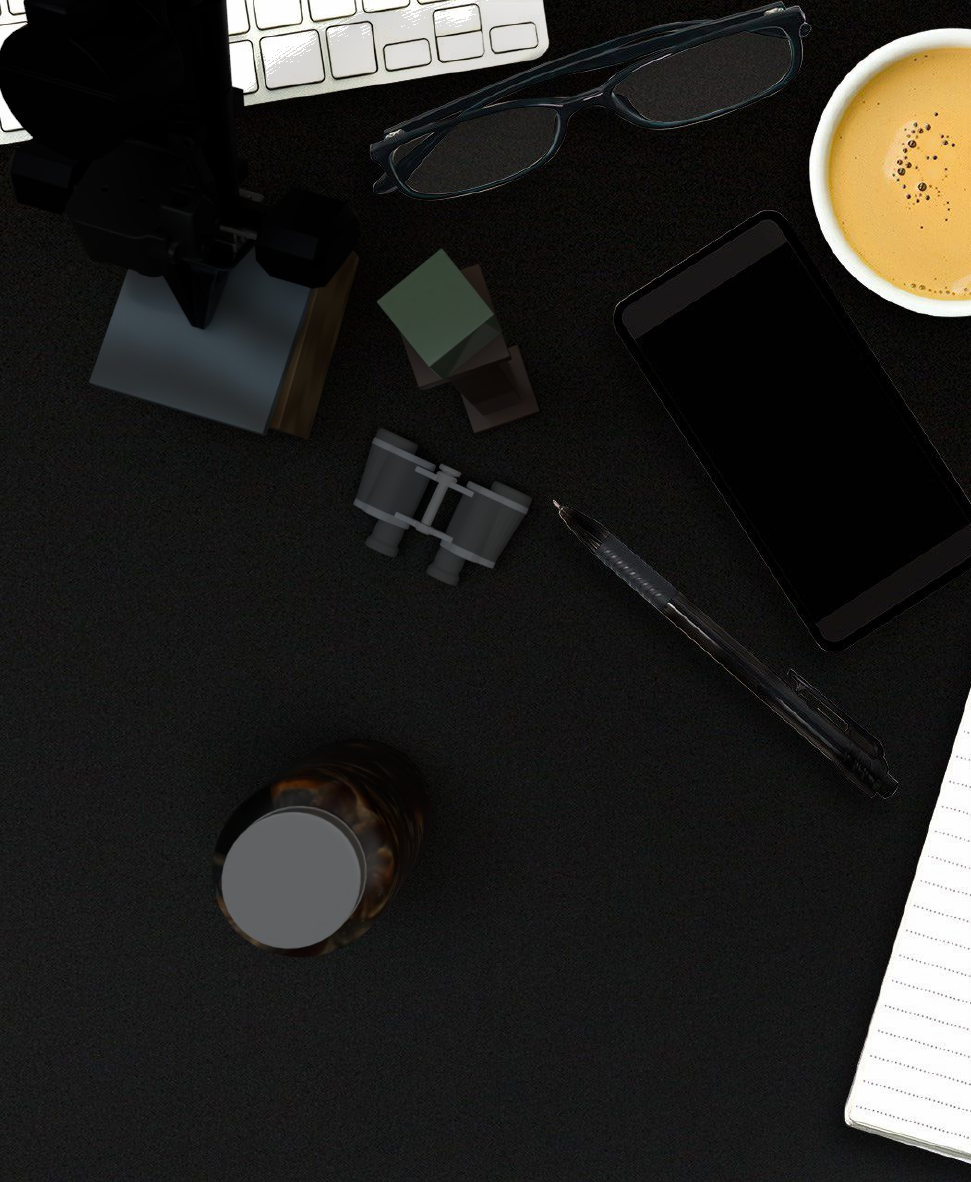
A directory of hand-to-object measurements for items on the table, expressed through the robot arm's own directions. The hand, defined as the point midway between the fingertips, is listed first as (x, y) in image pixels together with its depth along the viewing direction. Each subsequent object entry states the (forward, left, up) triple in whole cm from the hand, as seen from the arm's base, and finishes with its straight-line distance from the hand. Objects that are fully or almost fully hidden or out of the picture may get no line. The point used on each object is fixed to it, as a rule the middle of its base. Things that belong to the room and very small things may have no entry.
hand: (201, 325), depth 67 cm
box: (-2, +1, -9) cm, 9 cm away
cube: (+8, +16, +13) cm, 22 cm away
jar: (+34, -4, -9) cm, 36 cm away
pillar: (+8, +16, -9) cm, 20 cm away
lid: (-1, +1, -1) cm, 2 cm away
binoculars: (+15, +9, -9) cm, 20 cm away
